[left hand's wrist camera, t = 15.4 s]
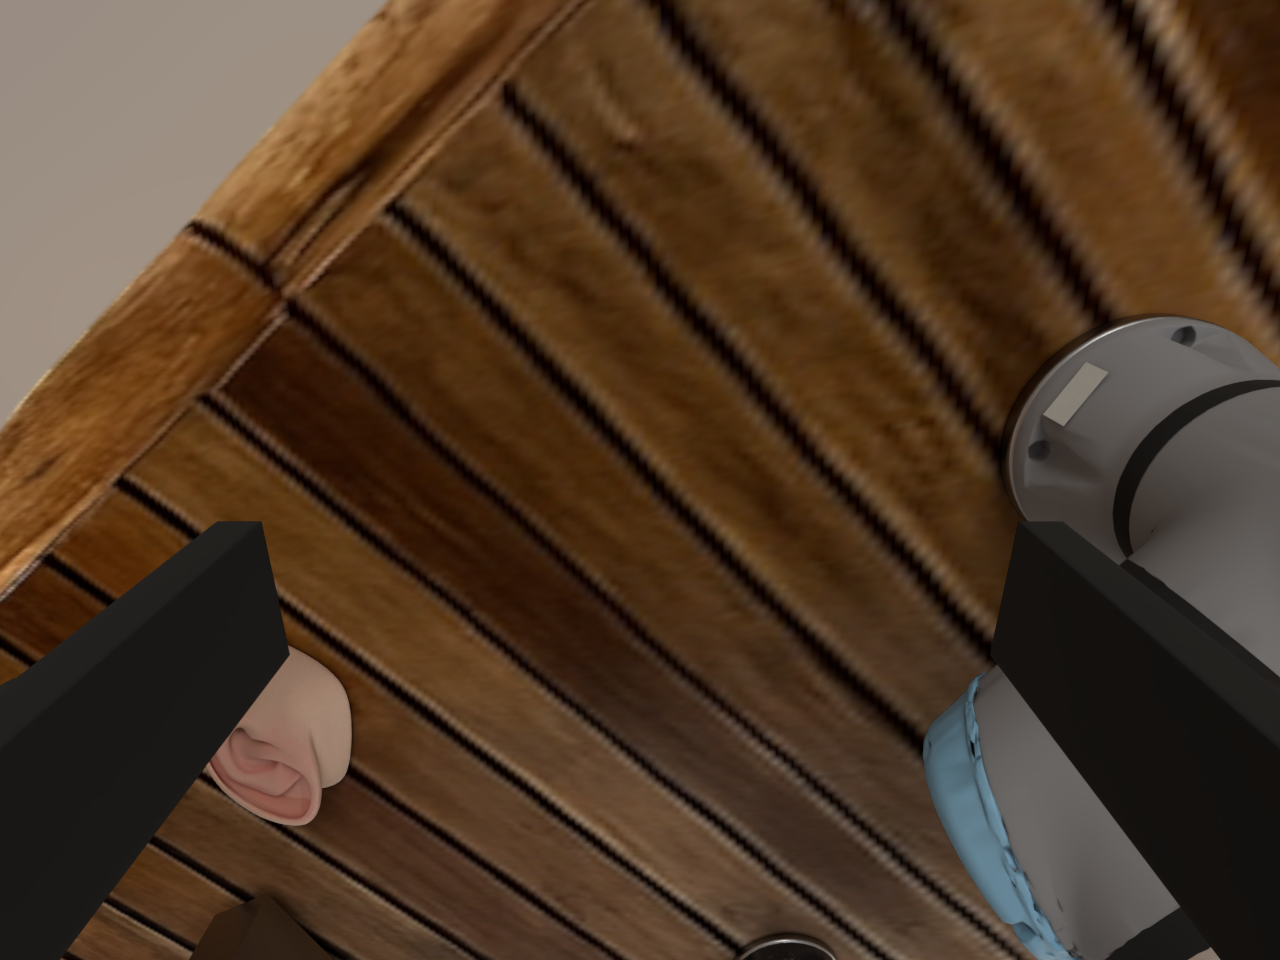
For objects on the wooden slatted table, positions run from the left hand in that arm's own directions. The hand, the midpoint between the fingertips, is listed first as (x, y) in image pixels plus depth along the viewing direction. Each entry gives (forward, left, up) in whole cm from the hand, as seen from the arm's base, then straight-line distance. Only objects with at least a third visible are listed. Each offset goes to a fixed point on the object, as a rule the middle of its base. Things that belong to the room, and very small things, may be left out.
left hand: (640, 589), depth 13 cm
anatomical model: (-2, +39, -32) cm, 50 cm away
